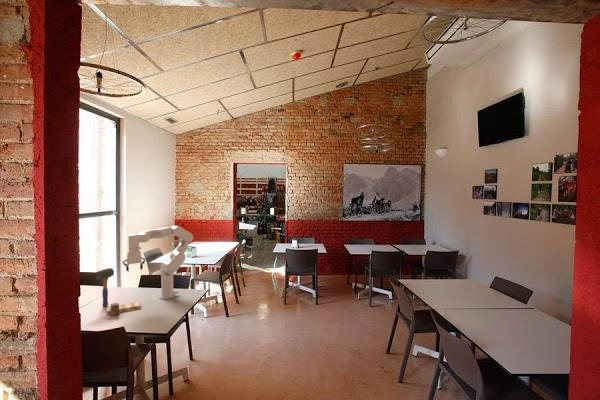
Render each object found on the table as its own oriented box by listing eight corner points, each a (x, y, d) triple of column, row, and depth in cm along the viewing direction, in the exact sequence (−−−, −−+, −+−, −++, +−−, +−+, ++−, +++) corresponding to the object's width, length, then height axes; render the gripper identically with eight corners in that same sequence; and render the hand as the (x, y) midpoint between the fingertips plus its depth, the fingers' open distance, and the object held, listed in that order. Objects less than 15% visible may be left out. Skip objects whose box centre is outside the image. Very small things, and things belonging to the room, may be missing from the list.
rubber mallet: (102, 309, 249) (102, 271, 248) (94, 308, 250) (94, 270, 250) (115, 304, 261) (114, 267, 260) (107, 303, 262) (107, 267, 262)
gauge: (116, 309, 249) (116, 299, 249) (119, 315, 238) (119, 304, 238) (109, 310, 246) (109, 300, 246) (111, 316, 235) (111, 305, 235)
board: (139, 304, 260) (138, 301, 260) (141, 308, 252) (141, 305, 252) (106, 310, 246) (106, 307, 246) (107, 314, 238) (107, 311, 238)
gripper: (144, 247, 267) (145, 267, 267) (121, 250, 256) (121, 271, 257) (146, 248, 261) (147, 269, 261) (122, 251, 250) (123, 273, 251)
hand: (134, 270), depth 259 cm, fingers open, 9 cm apart
